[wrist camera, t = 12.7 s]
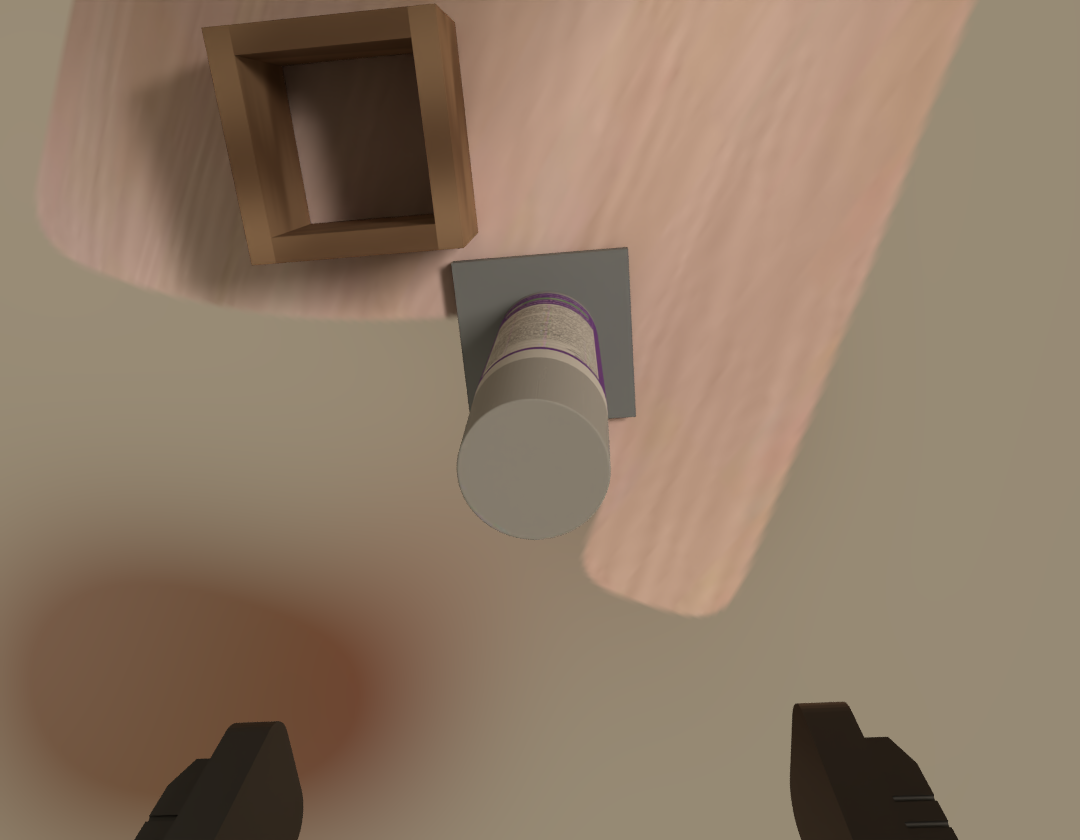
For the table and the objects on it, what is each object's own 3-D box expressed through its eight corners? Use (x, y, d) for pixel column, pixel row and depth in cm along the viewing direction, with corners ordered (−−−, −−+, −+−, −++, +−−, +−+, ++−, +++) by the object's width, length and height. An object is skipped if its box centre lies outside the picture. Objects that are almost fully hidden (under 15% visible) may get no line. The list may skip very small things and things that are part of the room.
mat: (453, 261, 36) (451, 263, 35) (627, 247, 35) (627, 249, 35) (473, 423, 39) (471, 427, 38) (634, 412, 38) (635, 416, 37)
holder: (254, 42, 33) (201, 27, 28) (454, 22, 32) (435, 3, 28) (293, 248, 36) (251, 265, 31) (477, 232, 35) (463, 247, 31)
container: (572, 403, 37) (573, 567, 23) (482, 364, 37) (427, 507, 23) (615, 316, 36) (643, 435, 22) (521, 274, 35) (489, 368, 21)
